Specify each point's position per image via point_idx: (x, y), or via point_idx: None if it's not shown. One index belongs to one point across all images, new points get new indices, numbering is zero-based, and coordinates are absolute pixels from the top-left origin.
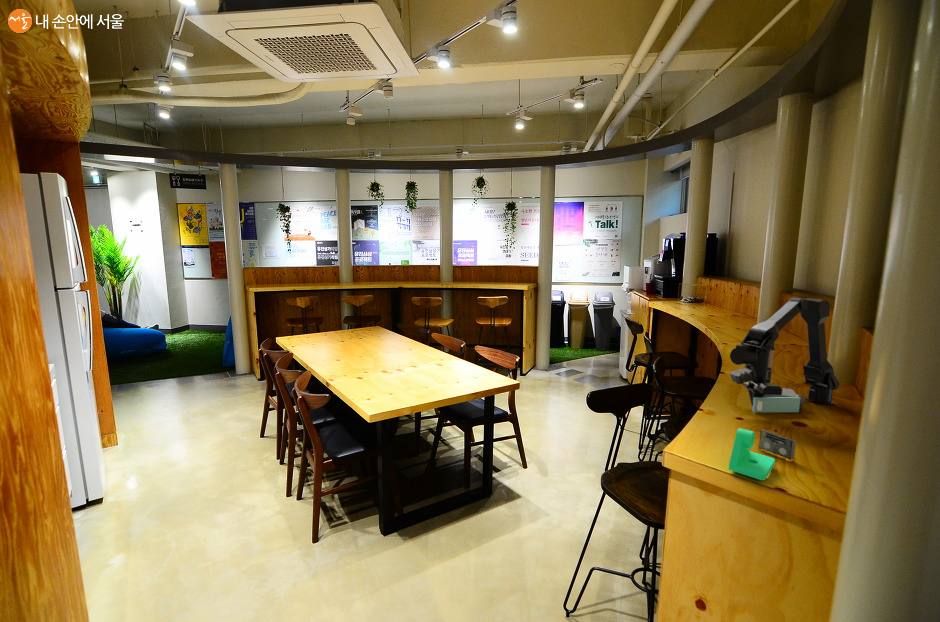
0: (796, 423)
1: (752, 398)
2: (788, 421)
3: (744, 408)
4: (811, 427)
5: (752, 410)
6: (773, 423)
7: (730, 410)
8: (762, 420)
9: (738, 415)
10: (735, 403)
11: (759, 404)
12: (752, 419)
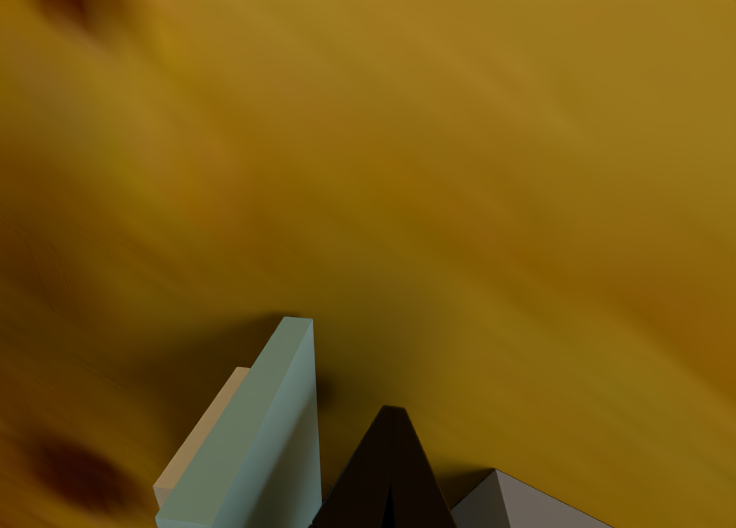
0: (88, 473)
1: (355, 503)
2: (119, 453)
3: (468, 324)
4: (34, 501)
5: (307, 327)
6: (22, 306)
7: (414, 58)
8: (79, 256)
9: (198, 47)
10: (670, 340)
11: (186, 439)
12: (79, 157)
